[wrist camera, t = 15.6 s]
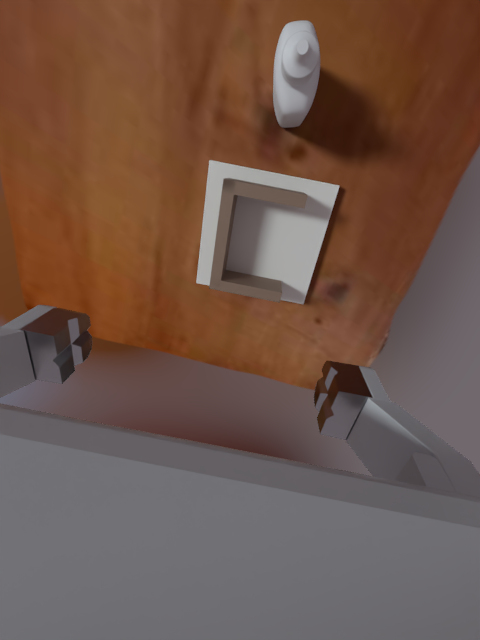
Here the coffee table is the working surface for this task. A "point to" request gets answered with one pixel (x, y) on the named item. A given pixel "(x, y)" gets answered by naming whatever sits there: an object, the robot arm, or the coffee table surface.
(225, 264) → the u rest
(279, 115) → the eye dropper bottle
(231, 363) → the coffee table surface
